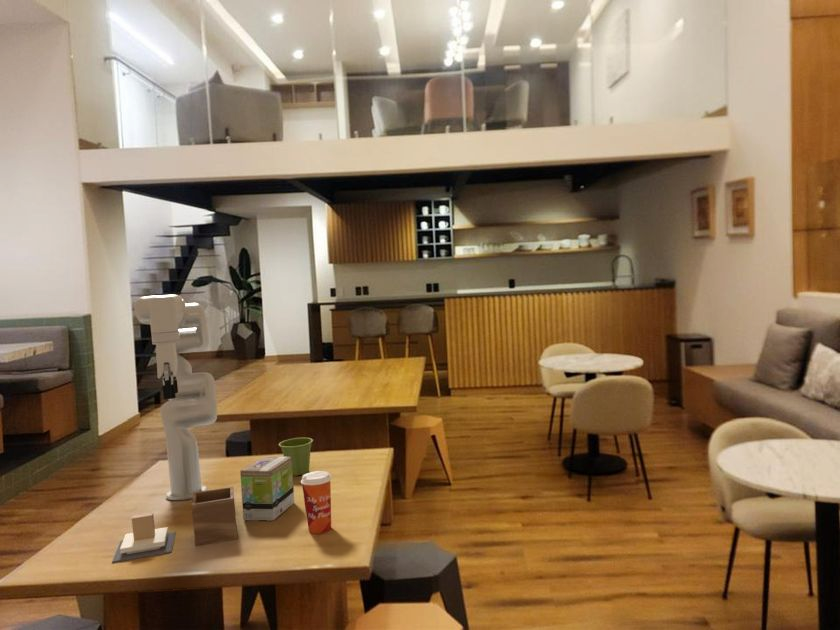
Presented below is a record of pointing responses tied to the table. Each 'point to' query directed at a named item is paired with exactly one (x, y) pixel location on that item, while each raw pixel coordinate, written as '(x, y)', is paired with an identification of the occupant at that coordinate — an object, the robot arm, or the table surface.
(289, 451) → the plant pot
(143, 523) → the lid
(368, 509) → the table surface
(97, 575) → the table surface
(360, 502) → the table surface
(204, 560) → the table surface
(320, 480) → the coffee cup
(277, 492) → the tea box
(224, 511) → the box
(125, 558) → the mat
